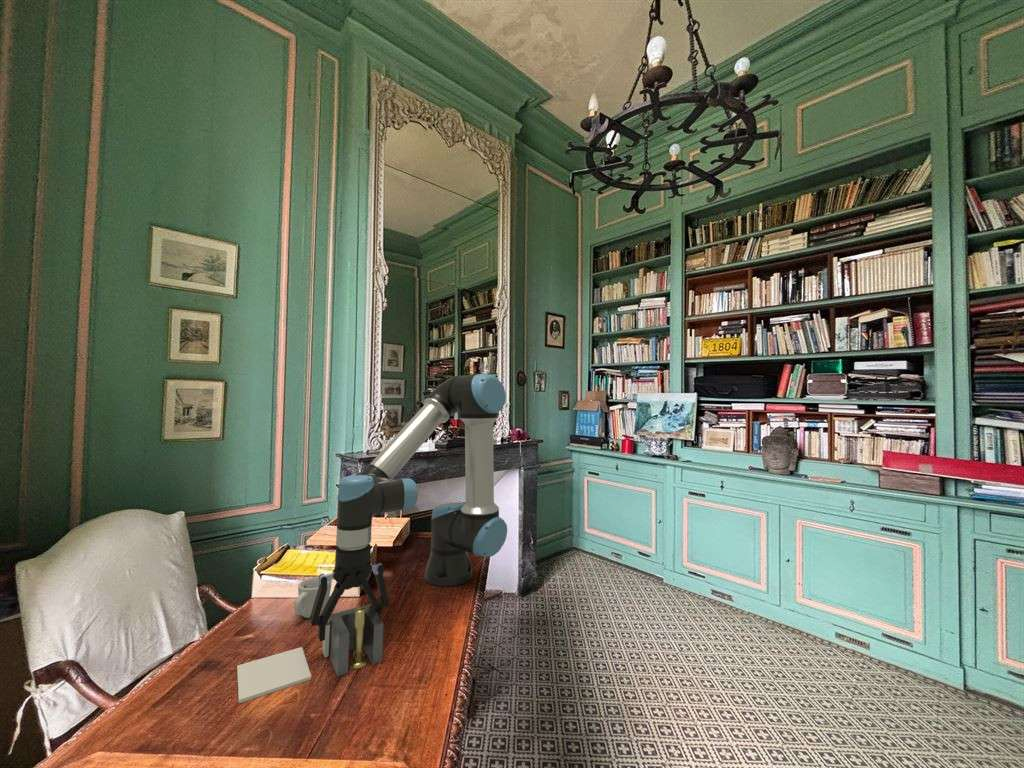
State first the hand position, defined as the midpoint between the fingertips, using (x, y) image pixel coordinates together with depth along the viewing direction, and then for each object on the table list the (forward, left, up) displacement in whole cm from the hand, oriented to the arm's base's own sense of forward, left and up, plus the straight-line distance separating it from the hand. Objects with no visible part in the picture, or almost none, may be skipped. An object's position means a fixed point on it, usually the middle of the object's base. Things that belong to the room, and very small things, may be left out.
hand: (349, 646), depth 92 cm
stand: (0, +7, 0) cm, 7 cm away
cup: (+5, -20, 0) cm, 21 cm away
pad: (+15, +1, 0) cm, 15 cm away
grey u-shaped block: (0, +4, 0) cm, 4 cm away
